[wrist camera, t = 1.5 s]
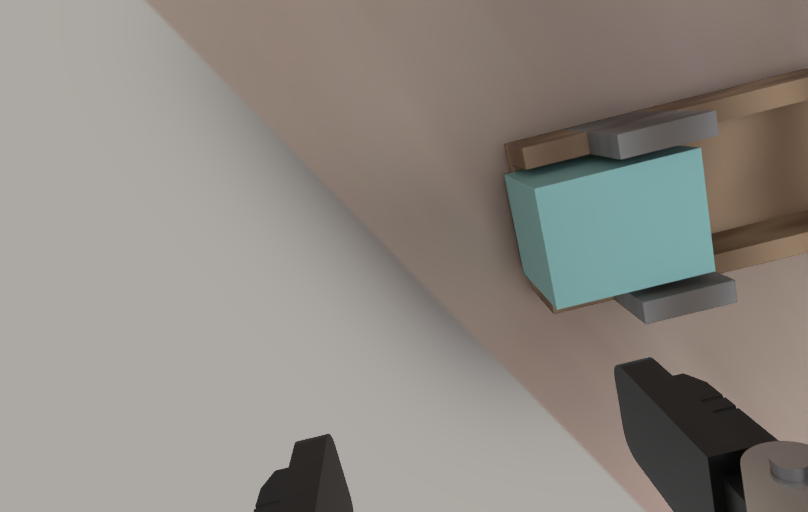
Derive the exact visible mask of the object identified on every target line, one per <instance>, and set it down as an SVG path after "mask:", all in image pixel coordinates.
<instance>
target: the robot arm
mask: <svg viewBox="0 0 808 512" xmlns="http://www.w3.org/2000/svg"><path fill="white" fill-rule="evenodd" d="M614 375H615V382H616V388H617V394H618V400H619V406H620V412H621V418H622V424H623V430H624V434H625V438H626V441H627V444H628V446H629V449H630V451H631V453H632V455H633V457H634V459H635V460H636V462H637V463H638V464H639V466H640V467H641V468H642V470H643V471H644V472H645V474H646V475H647V476H648V478H649V479H650V480H651V482H652V483H653V484H654V486H655V487H656V488H657V490H658V491H659V493H660V494H661V495H662V497H663V498H664V499H665V501H666V502H667V503H668V505H669V506H670V507H671V509H672V510H673V511H674V512H808V445H807V444H803V443H798V442H790V441H778V440H777V439H776V438H775V437H773V436H772V435H771V434H770V433H768V432H767V431H766V430H765V429H763V428H762V427H761V426H760V425H759V424H757V423H756V422H755V421H754V420H752V419H751V418H750V417H749V416H748V415H746V414H745V413H744V412H743V411H741V410H740V409H739V408H738V409H736V406H735V405H734V404H733V403H732V402H730V401H729V400H728V399H727V398H723V396H722V394H720V393H719V392H718V391H717V390H716V389H714V388H713V387H712V386H711V385H709V384H708V383H707V382H705V381H702V380H699V379H697V378H694V377H691V376H689V375H686V374H679V375H675V376H672V375H671V374H670V373H669V372H668V371H667V370H665V369H664V368H663V367H662V366H661V365H660V364H659V363H658V362H656V361H655V360H654V359H653V358H651V357H648V358H644V359H640V360H636V361H632V362H628V363H624V364H619V365H616V366H615V369H614ZM254 512H353V506H352V501H351V497H350V493H349V490H348V487H347V484H346V480H345V477H344V473H343V470H342V467H341V463H340V460H339V457H338V454H337V450H336V447H335V444H334V441H333V438H332V437H331V435H330V434H326V435H322V436H318V437H314V438H309V439H305V440H301V441H298V442H296V443H295V445H294V449H293V453H292V457H291V461H290V465H289V468H285V469H281V470H276V471H275V472H274V473H273V474H272V475H271V477H270V478H269V479H268V480H267V482H266V483H265V484H264V485H263V486H262V488H261V490H260V493H259V496H258V500H257V503H256V509H254Z"/></svg>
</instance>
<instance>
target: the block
mask: <svg viewBox="0 0 808 512" xmlns="http://www.w3.org/2000/svg"><path fill="white" fill-rule="evenodd" d="M504 177H505V182H506V187H507V192H508V197H509V202H510V207H511V212H512V217H513V222H514V227H515V232H516V237H517V242H518V247H519V252H520V257H521V261H522V266H523V271H524V274H525V275H526V276H527V277H528V278H529V280H530V281H531V282H532V283H533V284H534V285H535V286H536V287H537V288H538V289H539V291H540V292H541V293H542V294H543V295H544V296H545V297H546V298H547V299H548V300H549V302H550V303H551V304H552V305H553V306H554V307H555V308H556V309H557V310H559V309H563V308H567V307H571V306H575V305H579V304H583V303H587V302H592V301H596V300H600V299H604V298H608V297H612V296H616V295H620V294H624V293H628V292H633V291H637V290H641V289H645V288H649V287H653V286H657V285H661V284H665V283H669V282H674V281H678V280H682V279H686V278H690V277H694V276H698V275H702V274H706V273H710V272H715V271H716V270H715V262H714V254H713V245H712V237H711V228H710V220H709V211H708V203H707V194H706V186H705V177H704V169H703V160H702V152H701V148H700V147H690V146H680V145H678V146H674V147H670V148H666V149H662V150H658V151H654V152H650V153H646V154H642V155H638V156H634V157H630V158H625V159H621V160H620V159H615V158H609V157H604V156H599V155H593V154H588V155H584V156H580V157H576V158H572V159H568V160H564V161H560V162H556V163H552V164H548V165H544V166H540V167H536V168H532V169H528V170H526V169H524V170H520V171H516V172H512V173H508V174H504Z"/></svg>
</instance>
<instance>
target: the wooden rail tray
mask: <svg viewBox="0 0 808 512" xmlns="http://www.w3.org/2000/svg"><path fill="white" fill-rule="evenodd" d="M678 145H680V146H690V147H700V148H701V152H702V160H703V169H704V177H705V186H706V194H707V203H708V211H709V220H710V228H711V237H712V245H713V254H714V262H715V270H716V271H715V272H710V273H706V274H702V275H698V276H694V277H690V278H686V279H682V280H678V281H674V282H669V283H665V284H661V285H657V286H653V287H649V288H645V289H641V290H637V291H633V292H628V293H624V294H620V295H616V296H612V297H608V298H604V299H600V300H596V301H592V302H587V303H583V304H579V305H575V306H571V307H567V308H563V309H559V310H557V309H556V308H555V307H554V306H553V305H552V304H551V303H550V302H549V300H548V299H547V298H546V297H545V296H544V295H543V294H542V293H541V292H540V291H539V289H538V288H537V287H536V286H535V285H534V284H533V283H532V287H533V291H534V292H535V293H536V294H537V295H538V296H539V297H540V299H541V300H542V301H543V302H544V303H545V304H546V305H547V307H548V308H549V309H550V310H551V311H552V312H553V313H554V314H556V313H560V312H564V311H568V310H573V309H577V308H581V307H585V306H589V305H593V304H597V303H601V302H605V301H609V300H616V301H617V302H618V303H619V304H621V305H622V306H623V307H624V308H626V309H627V310H628V311H630V312H631V313H632V314H633V315H635V316H636V317H637V318H638V319H640V320H641V321H642V322H644V323H645V324H649V323H653V322H657V321H661V320H666V319H670V318H674V317H678V316H682V315H686V314H690V313H694V312H698V311H703V310H707V309H711V308H715V307H719V306H723V305H727V304H731V303H735V302H737V296H736V287H735V280H733V279H731V278H729V277H727V276H724V275H722V274H720V273H724V272H728V271H732V270H737V269H741V268H745V267H749V266H753V265H757V264H761V263H765V262H769V261H774V260H778V259H782V258H786V257H790V256H794V255H798V254H802V253H806V252H808V69H803V70H799V71H795V72H791V73H787V74H783V75H779V76H775V77H771V78H767V79H763V80H759V81H755V82H751V83H747V84H743V85H739V86H735V87H731V88H727V89H723V90H719V91H715V92H711V93H707V94H703V95H699V96H695V97H691V98H687V99H683V100H679V101H675V102H671V103H667V104H663V105H659V106H655V107H651V108H647V109H643V110H639V111H635V112H631V113H627V114H623V115H619V116H615V117H611V118H607V119H603V120H599V121H595V122H591V123H587V124H582V125H578V126H574V127H570V128H566V129H562V130H558V131H554V132H550V133H546V134H542V135H538V136H534V137H530V138H526V139H522V140H518V141H514V142H510V143H506V144H504V146H505V151H506V156H507V161H508V166H509V171H510V173H512V172H516V171H520V170H524V169H526V170H528V169H532V168H536V167H540V166H544V165H548V164H552V163H556V162H560V161H564V160H568V159H572V158H576V157H580V156H584V155H588V154H593V155H599V156H604V157H609V158H615V159H620V160H621V159H625V158H630V157H634V156H638V155H642V154H646V153H650V152H654V151H658V150H662V149H666V148H670V147H674V146H678Z"/></svg>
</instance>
